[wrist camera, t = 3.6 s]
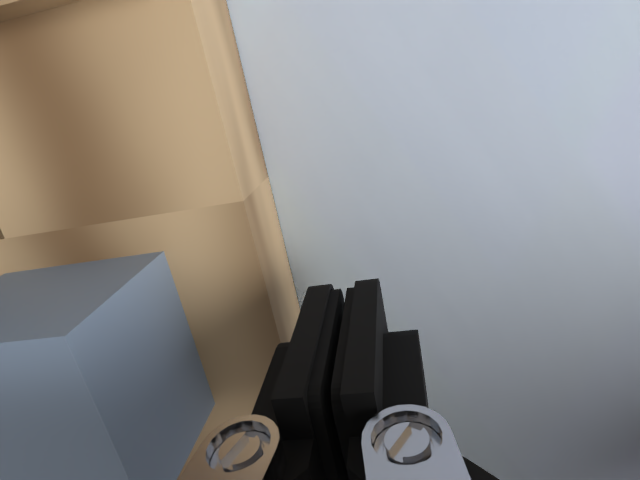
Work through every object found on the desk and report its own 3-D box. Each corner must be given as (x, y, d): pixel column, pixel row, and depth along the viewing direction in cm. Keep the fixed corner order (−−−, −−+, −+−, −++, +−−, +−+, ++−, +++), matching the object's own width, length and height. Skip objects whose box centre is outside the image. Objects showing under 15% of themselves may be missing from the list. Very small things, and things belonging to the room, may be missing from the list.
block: (163, 251, 12) (65, 336, 8) (215, 403, 14) (151, 529, 10) (5, 273, 13) (-145, 358, 9) (71, 412, 15) (-35, 530, 11)
